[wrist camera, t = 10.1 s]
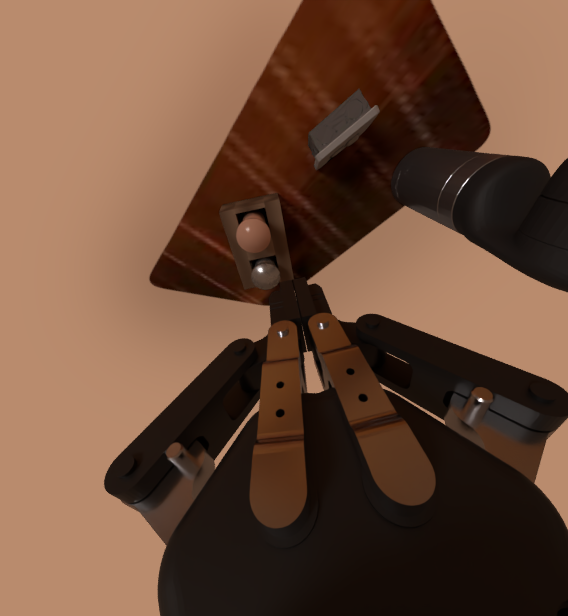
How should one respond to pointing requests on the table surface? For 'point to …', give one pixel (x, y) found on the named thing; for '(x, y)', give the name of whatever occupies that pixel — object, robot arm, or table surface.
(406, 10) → the table surface
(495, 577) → the robot arm
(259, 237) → the terracotta plug
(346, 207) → the table surface
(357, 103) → the electrical switch
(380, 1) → the table surface
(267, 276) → the grey plug
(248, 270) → the socket board
